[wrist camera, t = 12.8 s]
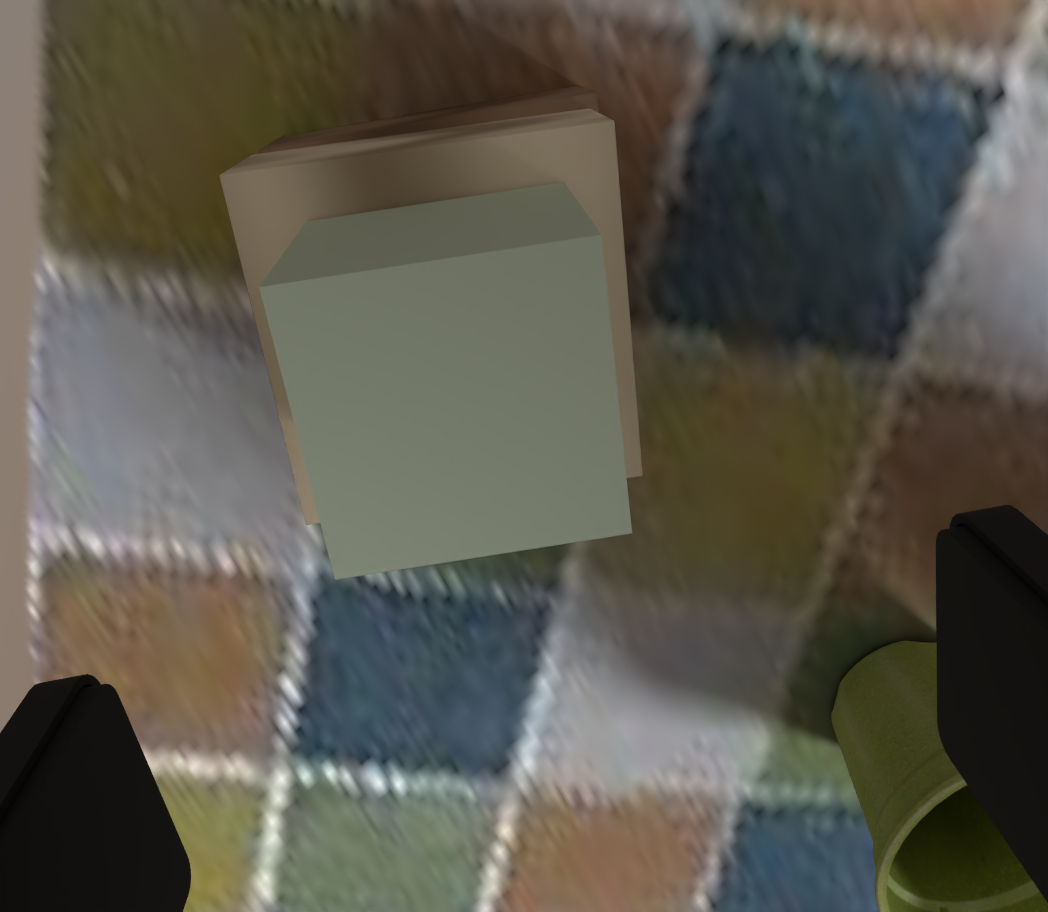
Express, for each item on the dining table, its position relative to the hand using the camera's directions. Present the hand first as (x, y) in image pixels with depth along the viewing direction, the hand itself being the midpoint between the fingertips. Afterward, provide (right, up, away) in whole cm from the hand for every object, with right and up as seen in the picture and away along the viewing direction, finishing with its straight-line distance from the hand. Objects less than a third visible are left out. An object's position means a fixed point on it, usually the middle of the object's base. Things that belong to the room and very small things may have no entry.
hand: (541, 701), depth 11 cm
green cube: (-2, +6, +12) cm, 14 cm away
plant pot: (+15, -7, +28) cm, 33 cm away
